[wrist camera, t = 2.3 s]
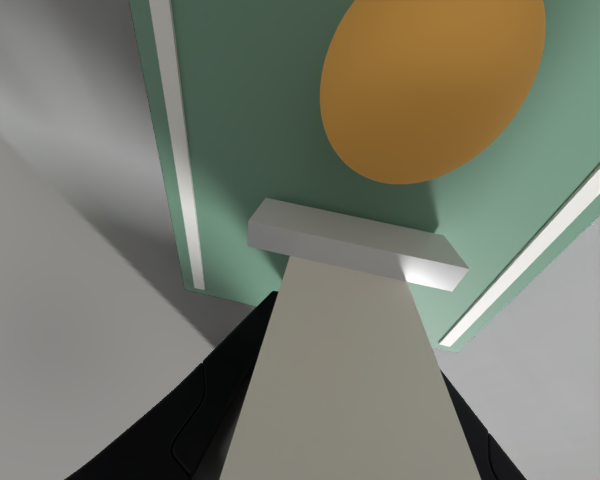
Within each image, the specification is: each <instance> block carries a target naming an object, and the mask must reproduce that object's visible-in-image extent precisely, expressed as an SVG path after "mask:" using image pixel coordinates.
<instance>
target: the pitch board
mask: <svg viewBox="0 0 600 480" xmlns="http://www.w3.org/2000/svg"><path fill="white" fill-rule="evenodd" d="M354 1H355V0H129V4H130V9H131V14H132V19H133V24H134V30H135V35H136V40H137V45H138V50H139V55H140V61H141V66H142V71H143V76H144V81H145V86H146V92H147V97H148V102H149V107H150V112H151V117H152V122H153V128H154V133H155V138H156V143H157V148H158V153H159V159H160V164H161V169H162V174H163V179H164V184H165V189H166V195H167V200H168V205H169V210H170V215H171V220H172V226H173V231H174V236H175V241H176V246H177V251H178V257H179V262H180V267H181V272H182V277H183V282H184V287H185V290H188V291H192V292H196V293H200V294H205V295H209V296H213V297H218V298H222V299H226V300H231V301H235V302H239V303H244V304H248V305H252V306H258V305H259V304H260V303H261V302H262V301H263V300H264V299H265V298H266V297H267V296H268V295H269V294H270V293H271V292H272V291H278V292H279V289H280V286H281V283H282V280H283V276H284V273H285V270H286V267H287V264H288V261H289V257H290V256H289V255H284V254H280V253H275V252H271V251H266V250H262V249H257V248H253V247H248V246H247V243H248V221H249V219H250V218H251V217H252V215H253V214H254V213H255V211H256V210H257V209H258V207H259V206H260V205H261V203H262V202H263V201H264V199H265V198H270V199H274V200H279V201H284V202H288V203H293V204H298V205H303V206H307V207H312V208H317V209H322V210H326V211H331V212H336V213H340V214H345V215H350V216H355V217H359V218H364V219H369V220H374V221H378V222H383V223H388V224H392V225H397V226H402V227H407V228H411V229H416V230H421V231H425V232H430V233H435V234H440V235H444V236H445V238H446V239H447V240H448V242H449V243H450V244H451V245H452V247H453V248H454V249H455V251H456V252H457V253H458V254H459V256H460V257H461V258H462V260H463V261H464V262H465V263H466V265H467V266H468V267H469V269H470V270H469V271H468V272H467V273H466V275H465V276H464V277H463V278H462V280H461V281H460V282H459V283H458V285H457V286H456V287H455V289H454V290H453V291H447V290H443V289H438V288H433V287H429V286H424V285H420V284H415V283H411V282H407V283H408V286H409V288H410V291H411V294H412V296H413V299H414V302H415V304H416V307H417V310H418V312H419V315H420V318H421V320H422V323H423V326H424V328H425V331H426V334H427V336H428V339H429V342H430V344H431V347H433V348H438V349H442V350H446V351H451V352H455V353H457V352H458V351H460V350H461V349H462V348H463V347H464V346H465V345H466V344H467V343H468V342H469V341H470V340H471V339H472V338H473V337H474V336H475V335H476V334H477V333H478V332H479V331H480V330H481V329H482V328H483V327H484V326H485V325H487V324H488V323H489V322H490V321H491V320H492V319H493V318H494V317H495V316H496V315H497V314H498V313H499V312H500V311H501V310H502V309H503V308H504V307H505V306H506V305H507V304H508V303H509V302H510V301H511V300H512V299H514V298H515V297H516V296H517V295H518V294H519V293H520V292H521V291H522V290H523V289H524V288H525V287H526V286H527V285H528V284H529V283H530V282H531V281H532V280H533V279H534V278H535V277H536V276H537V275H538V274H539V273H541V272H542V271H543V270H544V269H545V268H546V267H547V266H548V265H549V264H550V263H551V262H552V261H553V260H554V259H555V258H556V257H557V256H558V255H559V254H560V253H561V252H562V251H563V250H564V249H565V248H567V247H568V246H569V245H570V244H571V243H572V242H573V241H574V240H575V239H576V238H577V237H578V236H579V235H580V234H581V233H582V232H583V231H584V230H585V229H586V228H587V227H588V226H589V225H590V224H591V223H592V222H594V221H595V220H596V219H597V218H598V217H599V216H600V0H543V3H544V7H545V20H546V29H545V43H544V48H543V53H542V58H541V62H540V65H539V68H538V71H537V75H536V77H535V80H534V82H533V84H532V87H531V89H530V91H529V93H528V95H527V97H526V99H525V100H524V102H523V104H522V106H521V108H520V109H519V111H518V112H517V113H516V115H515V116H514V118H513V119H512V121H511V122H510V123H509V125H508V126H507V127H506V128H505V129H504V131H503V132H502V133H501V134H500V135H499V136H498V137H497V138H496V139H495V140H494V141H493V142H492V143H491V144H490V145H489V146H488V147H487V148H486V149H484V150H483V151H482V152H481V153H480V154H479V155H477V156H476V157H474V158H473V159H472V160H470V161H469V162H467V163H466V164H464V165H462V166H460V167H459V168H457V169H455V170H453V171H451V172H449V173H447V174H445V175H443V176H440V177H437V178H434V179H431V180H428V181H424V182H419V183H413V184H387V183H381V182H377V181H374V180H371V179H369V178H366V177H364V176H362V175H360V174H359V173H357V172H355V171H354V170H352V169H351V168H350V167H349V166H347V165H346V164H345V163H344V162H343V161H342V160H341V159H340V157H339V156H338V155H337V153H336V152H335V151H334V149H333V148H332V146H331V144H330V142H329V140H328V138H327V135H326V132H325V129H324V126H323V122H322V117H321V109H320V84H321V75H322V70H323V66H324V61H325V57H326V54H327V51H328V48H329V45H330V43H331V40H332V38H333V36H334V34H335V32H336V29H337V27H338V25H339V24H340V22H341V20H342V19H343V17H344V15H345V13H346V12H347V10H348V9H349V8H350V6H351V5H352V3H353V2H354Z"/></svg>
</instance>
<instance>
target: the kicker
mask: <svg viewBox="0 0 600 480" xmlns="http://www.w3.org/2000/svg"><path fill="white" fill-rule="evenodd" d="M247 246H248V247H253V248H257V249H262V250H266V251H271V252H275V253H280V254H284V255H289V256H290V257H289V261H288V264H287V267H286V270H285V273H284V276H283V280H282V283H281V286H280V289H279V292H278V295H277V299H276V302H275V305H274V308H273V311H272V314H271V318H270V321H269V324H268V327H267V330H266V333H265V337H264V340H263V343H262V346H261V349H260V352H259V356H258V359H257V362H256V365H255V368H254V371H253V375H252V378H251V381H250V384H249V387H248V390H247V393H246V397H245V400H244V403H243V406H242V409H241V412H240V416H239V419H238V422H237V425H236V428H235V431H234V435H233V438H232V441H231V444H230V447H229V450H228V454H227V457H226V460H225V463H224V466H223V469H222V473H221V476H220V479H219V480H481V478H480V475H479V472H478V470H477V467H476V464H475V462H474V459H473V456H472V454H471V451H470V448H469V446H468V443H467V440H466V438H465V435H464V432H463V430H462V427H461V424H460V422H459V419H458V416H457V414H456V411H455V408H454V406H453V403H452V400H451V398H450V395H449V392H448V390H447V387H446V384H445V382H444V379H443V376H442V374H441V371H440V368H439V366H438V363H437V360H436V358H435V355H434V352H433V350H432V347H431V344H430V342H429V339H428V336H427V334H426V331H425V328H424V326H423V323H422V320H421V318H420V315H419V312H418V310H417V307H416V304H415V302H414V299H413V296H412V294H411V291H410V288H409V286H408V283H407V282H411V283H415V284H420V285H424V286H429V287H433V288H438V289H443V290H447V291H453V290H454V289H455V287H456V286H457V285H458V283H459V282H460V281H461V280H462V278H463V277H464V276H465V275H466V273H467V272H468V271H469V270H470V269H469V267H468V266H467V265H466V263H465V262H464V261H463V260H462V258H461V257H460V256H459V254H458V253H457V252H456V251H455V249H454V248H453V247H452V245H451V244H450V243H449V242H448V240H447V239H446V238H445V236H444V235H440V234H435V233H430V232H425V231H421V230H416V229H411V228H407V227H402V226H397V225H392V224H388V223H383V222H378V221H374V220H369V219H364V218H359V217H355V216H350V215H345V214H340V213H336V212H331V211H326V210H322V209H317V208H312V207H307V206H303V205H298V204H293V203H288V202H284V201H279V200H274V199H270V198H265V199H264V201H263V202H262V203H261V205H260V206H259V207H258V209H257V210H256V211H255V213H254V214H253V215H252V217H251V218H250V219H249V221H248V243H247Z"/></svg>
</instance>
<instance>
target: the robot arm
mask: <svg viewBox="0 0 600 480" xmlns="http://www.w3.org/2000/svg"><path fill="white" fill-rule="evenodd" d="M277 295H278V291H272V292H271V293H270V294H269V295H268V296H267V297H266V298H265V299H264V300H263V301H262V302H261V303H260V304H259V305H258V306H257V307H256V308H255V309H254V310H253V311H252V312H251V313H250V314H249V315H248V316H247V317H246V318H245V319H244V320H243V321H242V322H241V323H240V324H239V325H238V326H237V327H236V328H235V329H234V330H233V331H232V332H231V333H230V334H229V335H228V336H227V337H226V338H225V339H224V340H223V341H222V342H221V343H220V344H219V345H218V346H217V347H216V348H215V349H214V350H213V351H212V352H211V353H210V354H209V355H208V356H207V357H206V358H205V359H204V361H203V363H200V364H199V365H198V366H197V367H196V368H195V369H194V371H192V372H191V373H190V374H189V375H188V376H187V377H186V378H185V379H184V380H183V381H182V382H181V383H180V384H179V385H178V386H177V387H176V388H175V389H174V390H173V391H171V392H170V393H169V394H168V395H167V396H166V397H165V398H163V399H162V400H161V401H160V402H159V403H158V404H157V405H156V406H154V407H153V408H152V409H151V410H150V411H148V412H147V413H146V414H145V415H144V416H143V417H142V418H140V419H139V420H138V421H137V422H136V423H134V424H133V425H132V426H131V427H130V428H129V429H127V430H126V431H125V432H124V433H122V434H121V435H120V436H119V437H118V438H117V439H115V440H114V441H113V442H112V443H111V444H110V445H108V446H107V447H106V448H105V449H104V450H102V451H101V452H100V453H99V454H98V455H96V456H95V457H94V458H93V459H91V460H90V461H89V462H88V463H86V464H85V465H84V466H82V467H81V468H80V469H79V470H77V471H76V472H74V473H73V474H72V475H70V476H69V477H67V478H66V479H65V480H219V479H220V476H221V473H222V469H223V466H224V463H225V460H226V457H227V454H228V450H229V447H230V444H231V441H232V438H233V435H234V431H235V428H236V425H237V422H238V419H239V416H240V412H241V409H242V406H243V403H244V400H245V397H246V393H247V390H248V387H249V384H250V381H251V378H252V375H253V371H254V368H255V365H256V362H257V359H258V356H259V352H260V349H261V346H262V343H263V340H264V337H265V333H266V330H267V327H268V324H269V321H270V318H271V314H272V311H273V308H274V305H275V302H276V299H277ZM440 371H441V370H440ZM441 374H442V376H443V379H444V382H445V384H446V387H447V390H448V392H449V395H450V398H451V400H452V403H453V406H454V408H455V411H456V414H457V416H458V419H459V422H460V424H461V427H462V430H463V432H464V435H465V438H466V440H467V443H468V446H469V448H470V451H471V454H472V456H473V459H474V462H475V464H476V467H477V470H478V472H479V475H480V478H481V480H527V479H526V478H525V477H524V476H523V475H522V473H521V472H520V471H519V470H518V468H517V467H516V466H515V465H514V463H513V462H512V461H511V459H510V458H509V457H508V456H507V454H506V453H505V452H504V451H503V449H502V448H501V447H500V446H499V444H498V443H497V442H496V440H495V439H494V438H493V437H492V435H491V434H489V433H488V430H487V429H486V428H485V426H484V425H483V424H482V422H481V421H480V420H479V419H478V417H477V416H476V415H475V413H474V412H473V411H472V410H471V408H470V407H469V406H468V404H467V403H466V402H465V400H464V399H463V398H462V397H461V395H460V394H459V393H458V391H457V390H456V389H455V388H454V386H453V385H452V384H451V382H450V381H449V380H448V379H447V377H446V376H445V375H444V373H443V372H442V371H441Z"/></svg>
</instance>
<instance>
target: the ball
mask: <svg viewBox="0 0 600 480" xmlns="http://www.w3.org/2000/svg"><path fill="white" fill-rule="evenodd" d="M545 29H546V20H545V7H544V3H543V0H355V1H354V2H353V3H352V5H351V6H350V8H349V9H348V10H347V12H346V13H345V15H344V17H343V19H342V20H341V22H340V24H339V25H338V27H337V29H336V32H335V34H334V36H333V38H332V40H331V43H330V45H329V48H328V51H327V54H326V57H325V61H324V66H323V70H322V75H321V84H320V109H321V117H322V122H323V126H324V129H325V132H326V135H327V138H328V140H329V142H330V144H331V146H332V148H333V149H334V151H335V152H336V153H337V155H338V156H339V157H340V159H341V160H342V161H343V162H344V163H345V164H346V165H347V166H349V167H350V168H351V169H352V170H354V171H355V172H357V173H359V174H360V175H362V176H364V177H366V178H369V179H371V180H374V181H377V182H381V183H387V184H413V183H419V182H424V181H428V180H431V179H434V178H437V177H440V176H443V175H445V174H447V173H449V172H451V171H453V170H455V169H457V168H459V167H460V166H462V165H464V164H466V163H467V162H469V161H470V160H472V159H473V158H474V157H476V156H477V155H479V154H480V153H481V152H482V151H483V150H484V149H486V148H487V147H488V146H489V145H490V144H491V143H492V142H493V141H494V140H495V139H496V138H497V137H498V136H499V135H500V134H501V133H502V132H503V131H504V129H505V128H506V127H507V126H508V125H509V123H510V122H511V121H512V119H513V118H514V116H515V115H516V113H517V112H518V111H519V109H520V108H521V106H522V104H523V102H524V100H525V99H526V97H527V95H528V93H529V91H530V89H531V87H532V84H533V82H534V80H535V77H536V75H537V71H538V68H539V65H540V62H541V58H542V53H543V48H544V43H545Z"/></svg>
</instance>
